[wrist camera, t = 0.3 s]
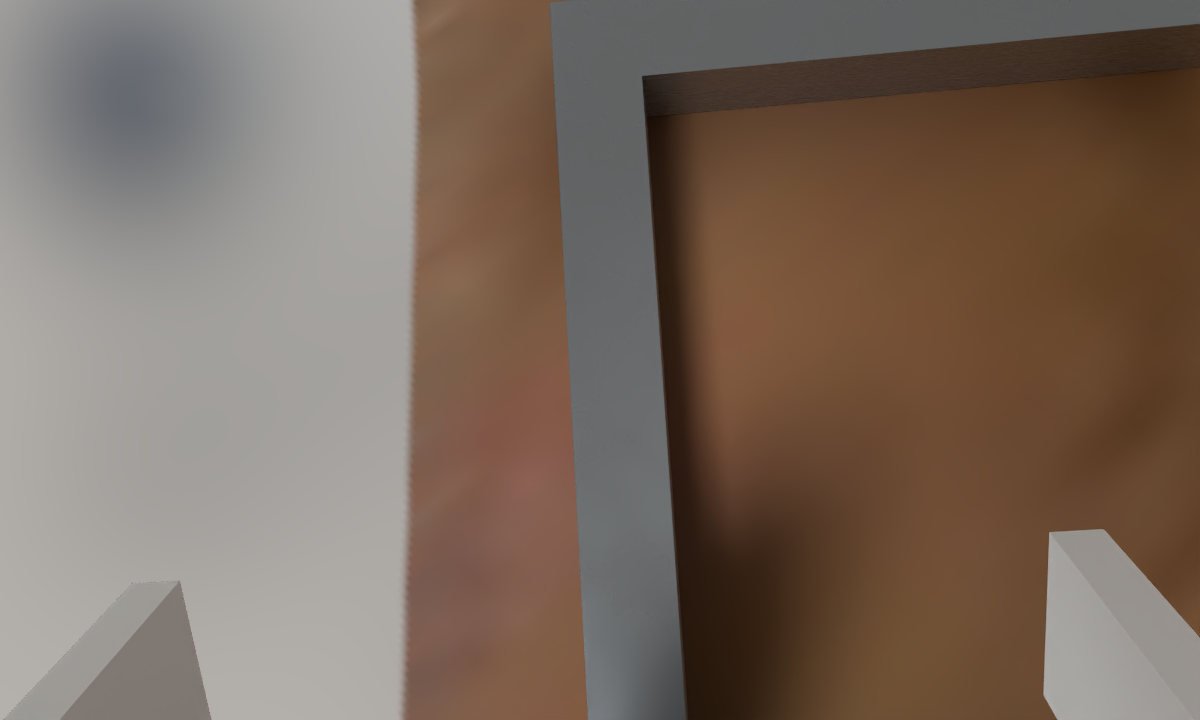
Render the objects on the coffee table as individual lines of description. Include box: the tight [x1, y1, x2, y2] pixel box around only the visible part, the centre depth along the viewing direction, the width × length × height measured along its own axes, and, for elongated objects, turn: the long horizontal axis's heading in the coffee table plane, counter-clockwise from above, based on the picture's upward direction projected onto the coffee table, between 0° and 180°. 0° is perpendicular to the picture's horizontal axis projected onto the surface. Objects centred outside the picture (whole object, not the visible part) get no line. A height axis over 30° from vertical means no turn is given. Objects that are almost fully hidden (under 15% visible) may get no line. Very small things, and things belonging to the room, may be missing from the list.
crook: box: [550, 0, 1200, 720], centre depth 25 cm, size 27×19×12 cm
